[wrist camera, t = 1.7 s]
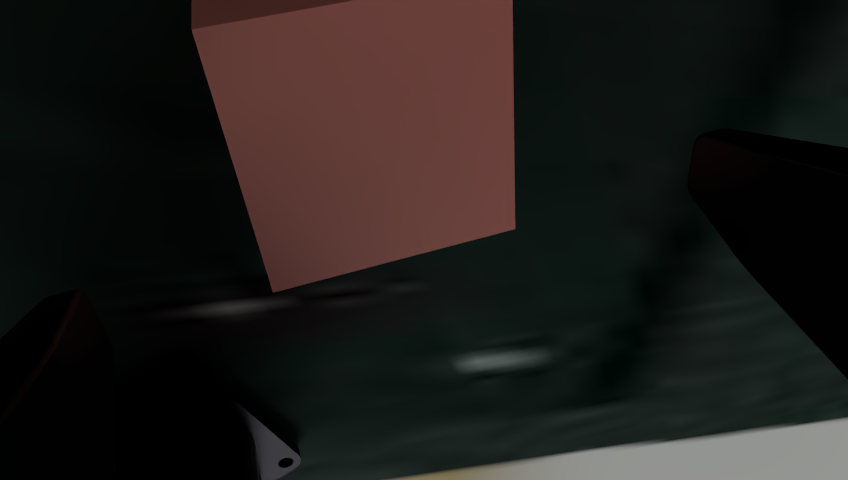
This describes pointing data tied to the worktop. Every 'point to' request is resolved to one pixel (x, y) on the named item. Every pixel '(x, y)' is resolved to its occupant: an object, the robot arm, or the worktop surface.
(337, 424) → the worktop surface
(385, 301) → the worktop surface
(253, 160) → the red cube
